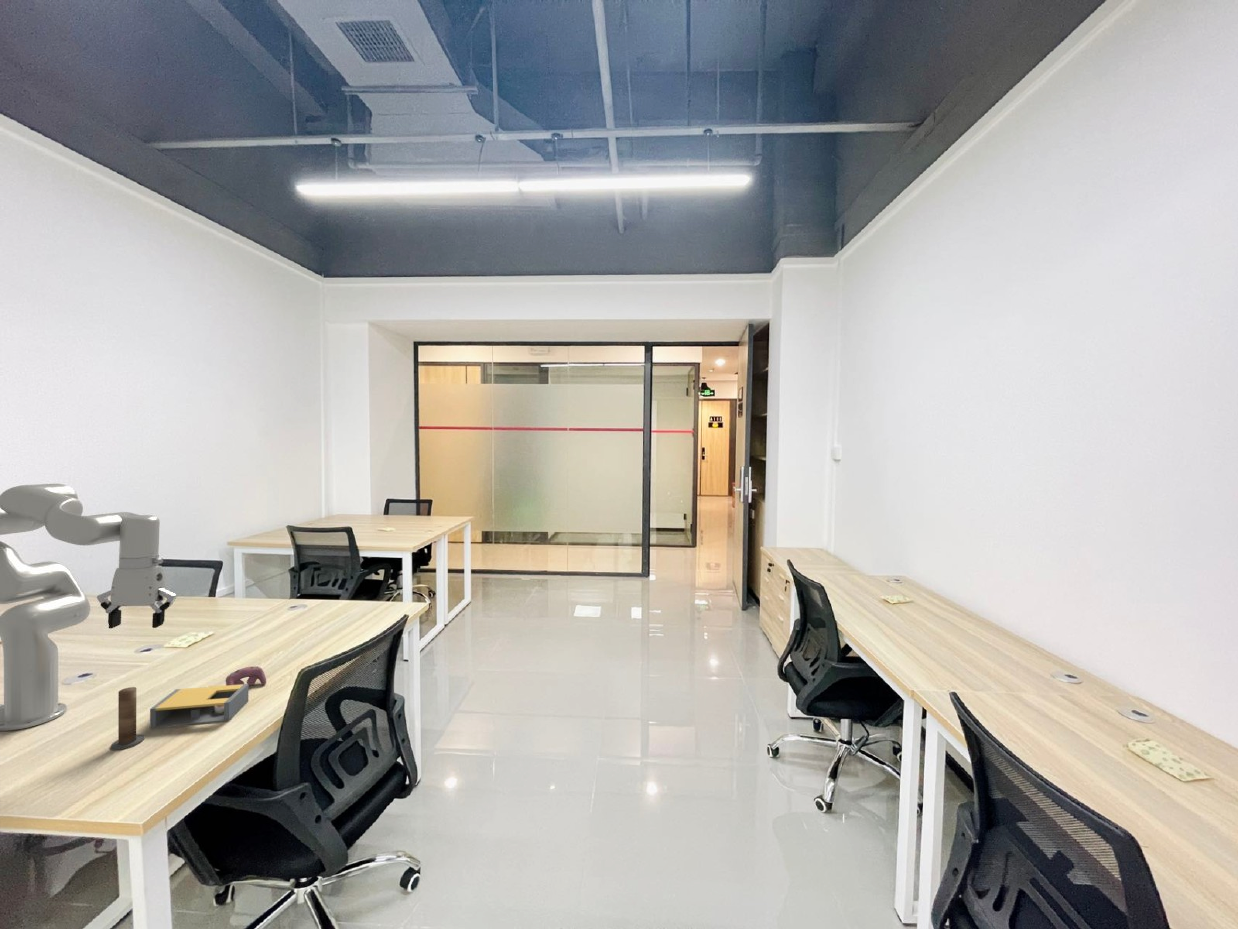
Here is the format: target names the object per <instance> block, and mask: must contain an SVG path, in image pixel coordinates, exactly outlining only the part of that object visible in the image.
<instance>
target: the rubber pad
mask: <svg viewBox="0 0 1238 929" xmlns="http://www.w3.org/2000/svg"><path fill="white" fill-rule="evenodd" d="M144 740H145V735H143V734H136V740H135V741H134V742H132V743H130V744H126V745H119V744H118V739H117V740H115V741H114V742H112V743H111V745H110V749H111V750H113V751H120V750H125V749H130V748H132V747H135V746H137V745H139V744H141V743H142V742H143V741H144Z"/></svg>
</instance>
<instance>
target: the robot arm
mask: <svg viewBox="0 0 1238 929" xmlns="http://www.w3.org/2000/svg"><path fill="white" fill-rule="evenodd" d="M83 511H84V507H83V504H82V502H81V501H80V500H79V498H78V494H77V492H76V490H75V489H73V488H72V487H71V486H69V485H66V484H63V483H44V484H43V483H40V484H24V485H17V486H13V487H10V488H8V489H6V490H4V491H3V492H2V493H1V494H0V536H1V535H11V534H18V533H26V532H33V531H36V530H38V529H42V528H43V527H45V530H46V531H47V533H48V534H49V535H50V536H51V537H53V539H55V540H58V541H60V542H65V543H68V544H71V545H74V546H75V545H76V546H95V545H99V544H106V543H113V542H114V543H115V542H119V550H118V553H119V554H118V567H117V568H116V569H115V571H114V574H113V577H112V581H111V587H110V588H111V589H110V590H107V591H105V592H103V593H101V594H98V595H96V599H97V600H98V602H99V604H100V607H101V608H103V609H104V610H105V613H106V614H108V616H107V622H108V623H107V624H108V629H114V628H116V627H119V626H120V625H121V624H122V609H120V608H121V607H150V608H151V609H152V610H153V611H154V612H153V613H152V624H151V625H152V629H157V628H159V627H160V626H162V625H163V624H164V623H165V616H166V615H165V614H166V610H168V609H169V607H171V606H172V605H173V603H174V601H175V600H176V598H178V595H177V594H176V593H173V592H171V591H169V590H167V589H166V578H165V574H164V570H163V566H162V565H160V564H163V562H164V558H161V557H160V555H159V550H160V549H159V546H160V522H161V521H160V518H159V517H157V516H156V515H152V514H151V515H149V514H137V513H133V512H127V511H120V512H111V513H102V514H99V513H98V514H93V515H82V514H83ZM41 597H43V598H41ZM109 597H110V600H109ZM38 598H41V599H38ZM33 599H37V600H33ZM165 599H166V601H165V602H164V600H165ZM28 600H32V601H28ZM25 601H28V602H25ZM20 602H24V603H21V604H17V605H15V606H12V607H11V608H8V609H7V610H5V611H4V612H3V613H1V614H0V640H1V645H2V653H3V656H2V657H3V704H0V731H1V732H2V731H6V732H7V731H17V730H22V729H27V728H31V727H35V726H38V725H41V724H44V723H47V722H50V721H52V720H55V719H56V718H58V717H59V718H60V717H61V716H62V715H63V714H65V713H66V711H67V708H68V707H67V705H66V703H63V702H59V649H58V645H57V644H56V643H55V642H54V641H53V640H52V639H51V638H50V637H49V636H48V635H49V634H51V633H54V632H57V631H59V630H65V629H68V628H70V627H73V626H77V625H79V624H81V623H83V622H84V621H85V620H86V619H88V618H89V615H90V613H91V604H90V602H89V599H88V598H87V596H86V594H85V592H84V591H83V589H82V588H81V587H80V584H79V583H78V582H77V580H76V578H75V577H74V575H73V573H72V572H71V571H70V569H68V568H67V567H66V566H65V565H64V564H62V563H59V562H57V561H43V562H42V561H40V562H35V563H31V564H28V563H25V561H24V560H22V558H21V557H20V555H19V553H18V552H17V551H16V550H15V548H13V547H12V546H10V545H8V544H7V543H5V542H3V541H1V540H0V605H10V604H14V603H20Z"/></svg>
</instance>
